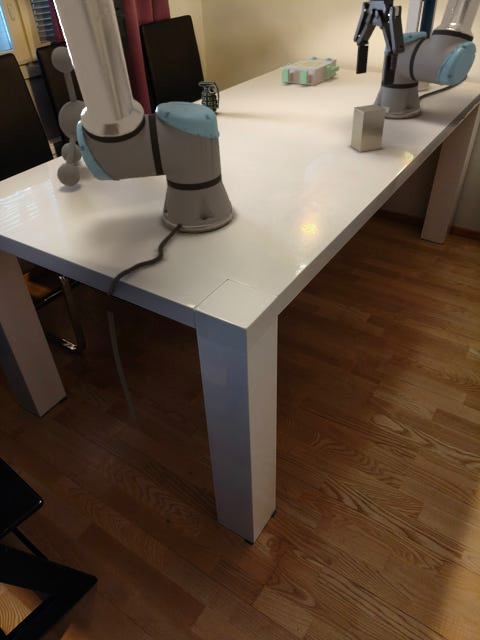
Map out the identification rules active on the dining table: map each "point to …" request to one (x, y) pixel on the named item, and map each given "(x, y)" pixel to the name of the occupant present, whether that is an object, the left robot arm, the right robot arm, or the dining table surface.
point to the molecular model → (68, 120)
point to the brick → (367, 127)
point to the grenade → (210, 95)
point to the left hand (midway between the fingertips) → (120, 48)
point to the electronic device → (426, 22)
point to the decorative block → (310, 71)
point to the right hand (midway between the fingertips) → (374, 78)
